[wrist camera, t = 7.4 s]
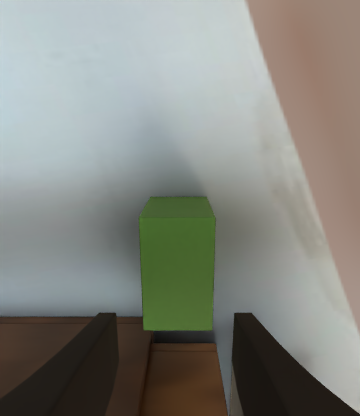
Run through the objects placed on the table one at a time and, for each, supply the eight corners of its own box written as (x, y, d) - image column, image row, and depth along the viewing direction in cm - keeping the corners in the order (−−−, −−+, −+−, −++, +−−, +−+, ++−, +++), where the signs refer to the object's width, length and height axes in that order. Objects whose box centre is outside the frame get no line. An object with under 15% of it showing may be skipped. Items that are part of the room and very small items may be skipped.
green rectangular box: (205, 284, 20) (212, 331, 15) (152, 284, 20) (143, 330, 15) (206, 196, 18) (215, 217, 13) (150, 196, 18) (138, 217, 13)
